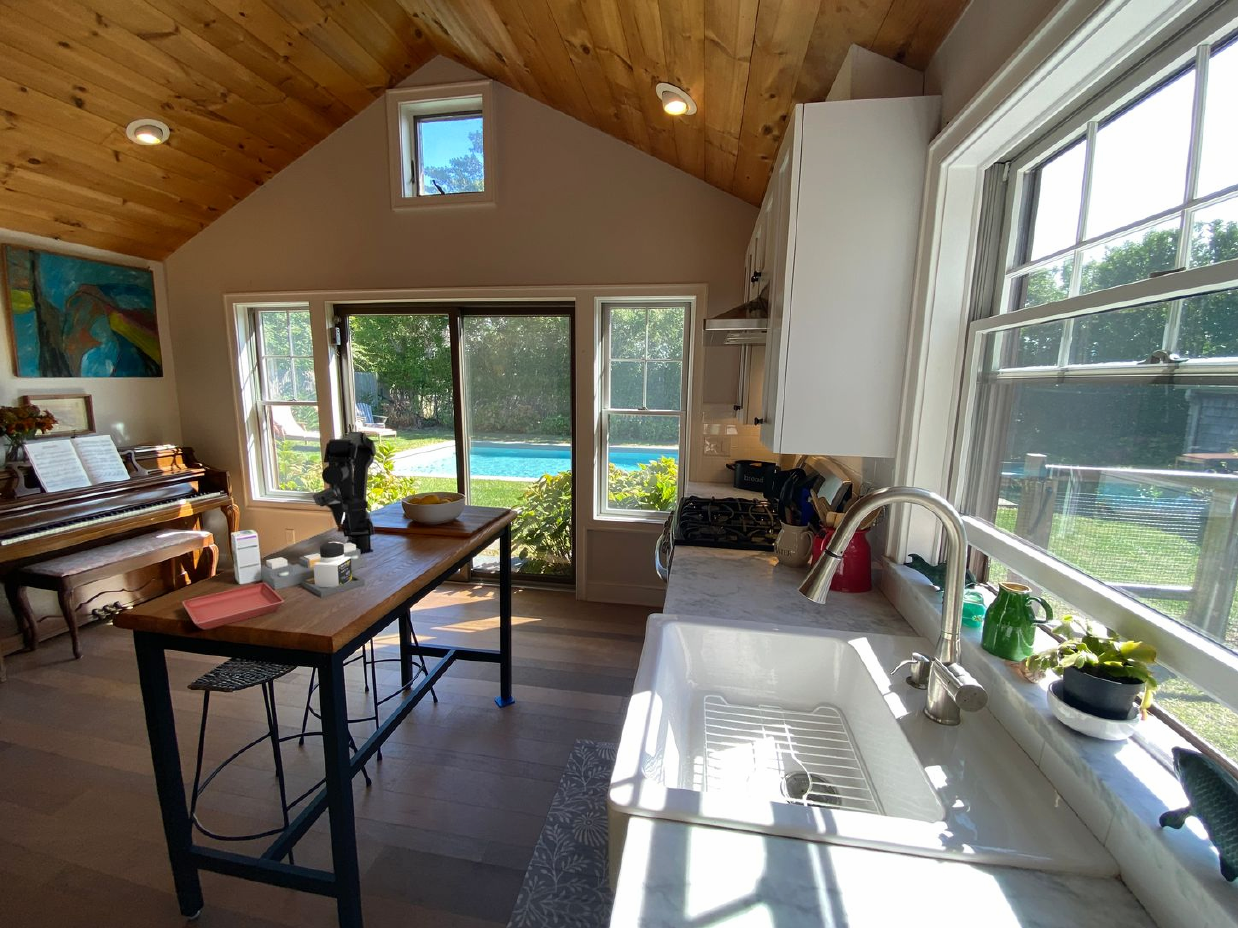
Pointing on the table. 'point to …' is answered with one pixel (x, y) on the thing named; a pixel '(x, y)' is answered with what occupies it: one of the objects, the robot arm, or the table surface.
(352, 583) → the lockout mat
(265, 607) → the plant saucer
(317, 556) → the block
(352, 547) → the breaker
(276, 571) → the grey slotted tray
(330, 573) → the medicine bottle
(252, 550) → the syrup box
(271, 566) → the breaker
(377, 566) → the table surface
